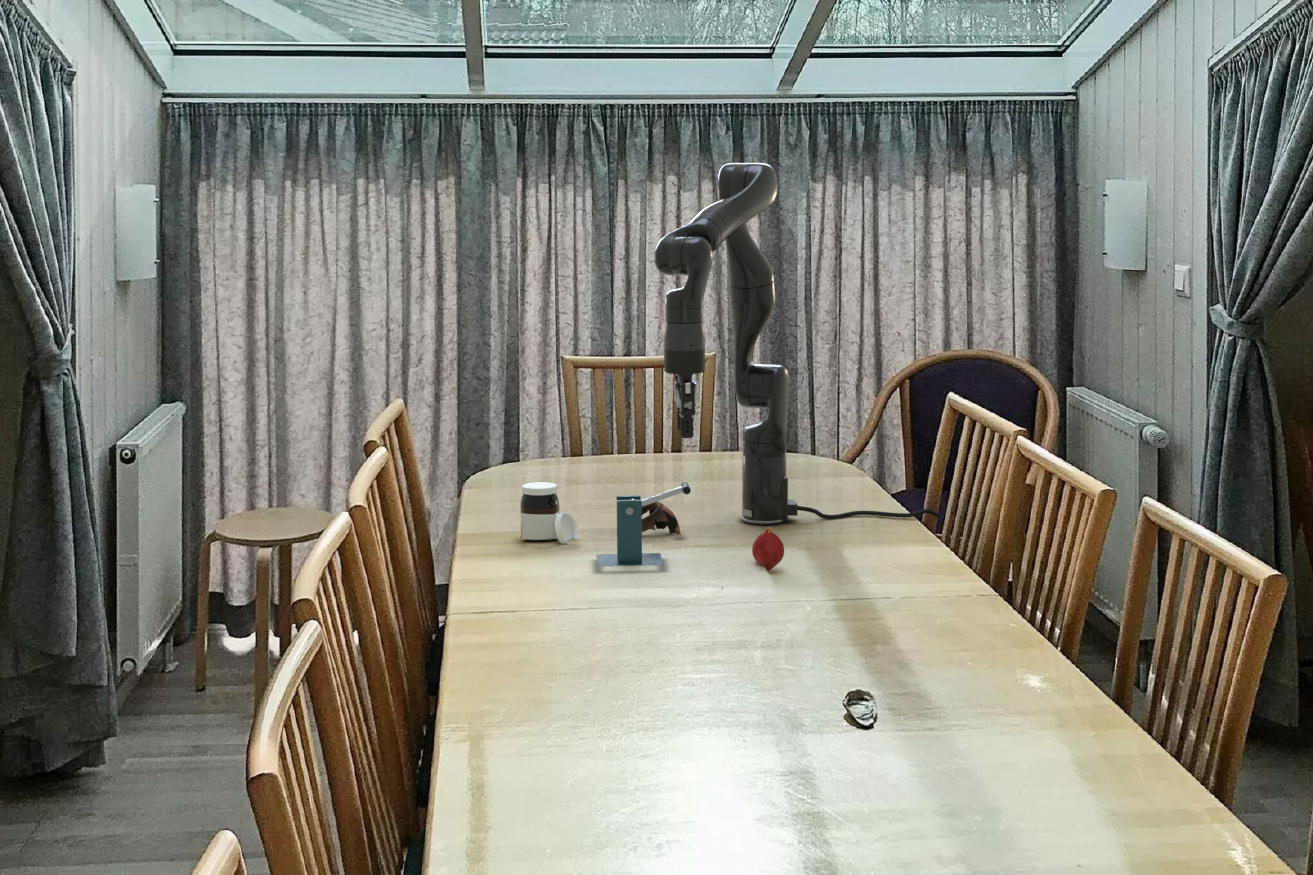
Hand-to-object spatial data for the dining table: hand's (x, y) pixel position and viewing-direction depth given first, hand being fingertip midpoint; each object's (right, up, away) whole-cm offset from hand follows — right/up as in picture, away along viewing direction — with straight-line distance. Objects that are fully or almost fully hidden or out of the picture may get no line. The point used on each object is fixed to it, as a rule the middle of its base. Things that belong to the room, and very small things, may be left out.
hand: (685, 434), depth 256 cm
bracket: (-10, -24, -1) cm, 27 cm away
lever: (-5, -13, -2) cm, 14 cm away
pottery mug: (-5, -21, +23) cm, 32 cm away
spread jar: (-26, -22, +17) cm, 38 cm away
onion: (+15, -25, -4) cm, 29 cm away
